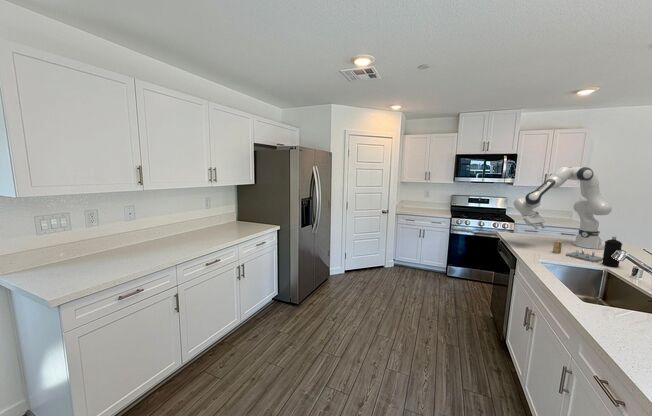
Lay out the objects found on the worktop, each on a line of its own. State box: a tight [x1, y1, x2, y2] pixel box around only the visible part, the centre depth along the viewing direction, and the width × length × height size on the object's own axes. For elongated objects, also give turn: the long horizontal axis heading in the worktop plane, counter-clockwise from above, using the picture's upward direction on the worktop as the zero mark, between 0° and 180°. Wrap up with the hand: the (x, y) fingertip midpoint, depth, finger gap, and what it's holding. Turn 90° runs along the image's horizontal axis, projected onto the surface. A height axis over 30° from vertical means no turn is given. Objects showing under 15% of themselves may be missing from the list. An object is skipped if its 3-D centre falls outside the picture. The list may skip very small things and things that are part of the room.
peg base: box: [565, 248, 603, 263], centre depth 197 cm, size 14×17×5 cm
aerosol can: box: [601, 236, 623, 268], centre depth 180 cm, size 8×8×20 cm
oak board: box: [552, 240, 563, 255], centre depth 209 cm, size 5×3×9 cm, turn 114°
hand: (540, 228), depth 219 cm, fingers open, 8 cm apart
